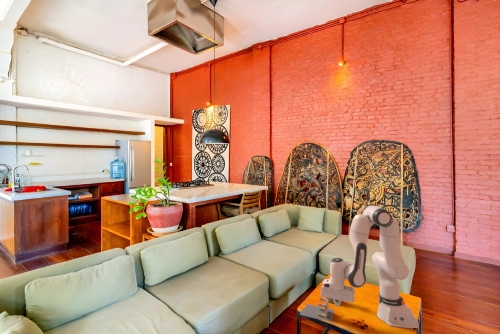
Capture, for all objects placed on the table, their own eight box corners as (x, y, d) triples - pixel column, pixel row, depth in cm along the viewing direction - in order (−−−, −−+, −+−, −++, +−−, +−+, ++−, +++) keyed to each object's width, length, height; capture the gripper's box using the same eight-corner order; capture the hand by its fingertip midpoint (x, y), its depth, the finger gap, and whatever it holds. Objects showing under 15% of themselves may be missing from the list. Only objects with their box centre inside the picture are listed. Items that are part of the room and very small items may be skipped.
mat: (334, 310, 169) (334, 309, 169) (331, 322, 157) (331, 322, 157) (304, 303, 177) (304, 303, 177) (299, 315, 165) (299, 314, 165)
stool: (328, 311, 168) (328, 299, 168) (327, 318, 161) (326, 305, 160) (319, 309, 170) (319, 297, 170) (318, 316, 163) (318, 303, 163)
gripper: (354, 285, 160) (354, 306, 161) (321, 279, 168) (321, 299, 169) (354, 289, 154) (354, 312, 155) (320, 283, 163) (320, 304, 163)
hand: (337, 305), depth 162 cm, fingers closed
